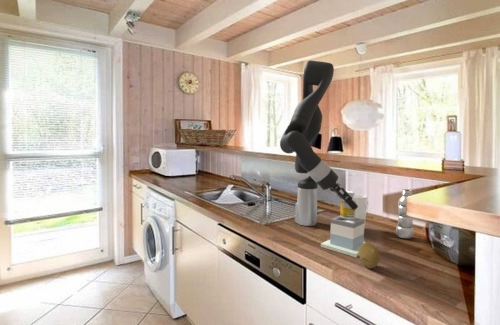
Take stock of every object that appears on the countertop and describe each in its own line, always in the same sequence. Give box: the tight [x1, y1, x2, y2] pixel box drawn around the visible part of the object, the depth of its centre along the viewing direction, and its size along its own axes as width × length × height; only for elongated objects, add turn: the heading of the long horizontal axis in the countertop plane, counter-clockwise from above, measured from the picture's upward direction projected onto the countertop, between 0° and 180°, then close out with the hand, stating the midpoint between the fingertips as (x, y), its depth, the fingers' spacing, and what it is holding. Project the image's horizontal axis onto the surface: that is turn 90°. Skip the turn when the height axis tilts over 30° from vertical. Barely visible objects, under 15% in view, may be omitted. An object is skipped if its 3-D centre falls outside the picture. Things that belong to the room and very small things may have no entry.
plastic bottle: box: [395, 189, 414, 240], centre depth 127 cm, size 6×7×20 cm
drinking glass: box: [354, 194, 368, 228], centre depth 139 cm, size 7×7×15 cm
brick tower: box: [320, 215, 366, 258], centre depth 116 cm, size 14×14×11 cm
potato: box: [358, 241, 381, 270], centre depth 99 cm, size 7×8×8 cm
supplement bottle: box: [339, 190, 356, 219], centre depth 115 cm, size 5×5×10 cm
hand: (352, 206), depth 115 cm, fingers closed on supplement bottle, 5 cm apart
